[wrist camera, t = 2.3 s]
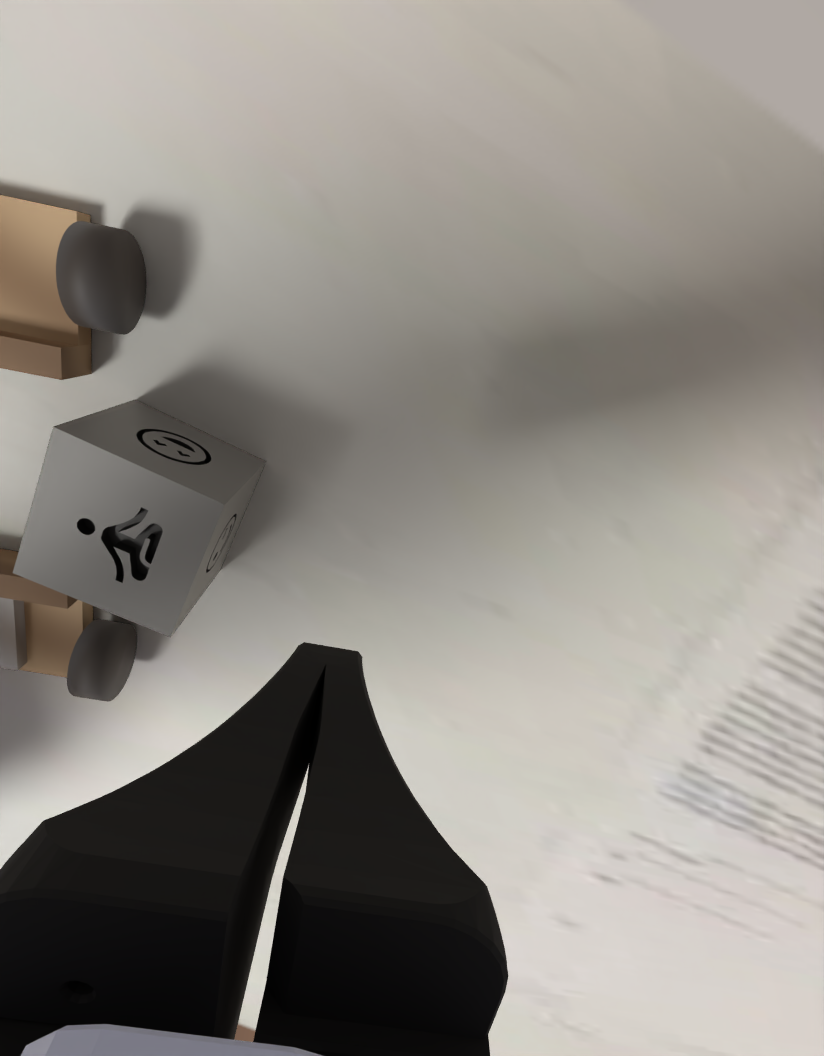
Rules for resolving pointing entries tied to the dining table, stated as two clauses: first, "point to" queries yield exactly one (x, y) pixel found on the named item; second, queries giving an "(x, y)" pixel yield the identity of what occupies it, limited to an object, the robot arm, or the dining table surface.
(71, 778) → the dining table surface
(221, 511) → the dice cube
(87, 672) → the chassis
